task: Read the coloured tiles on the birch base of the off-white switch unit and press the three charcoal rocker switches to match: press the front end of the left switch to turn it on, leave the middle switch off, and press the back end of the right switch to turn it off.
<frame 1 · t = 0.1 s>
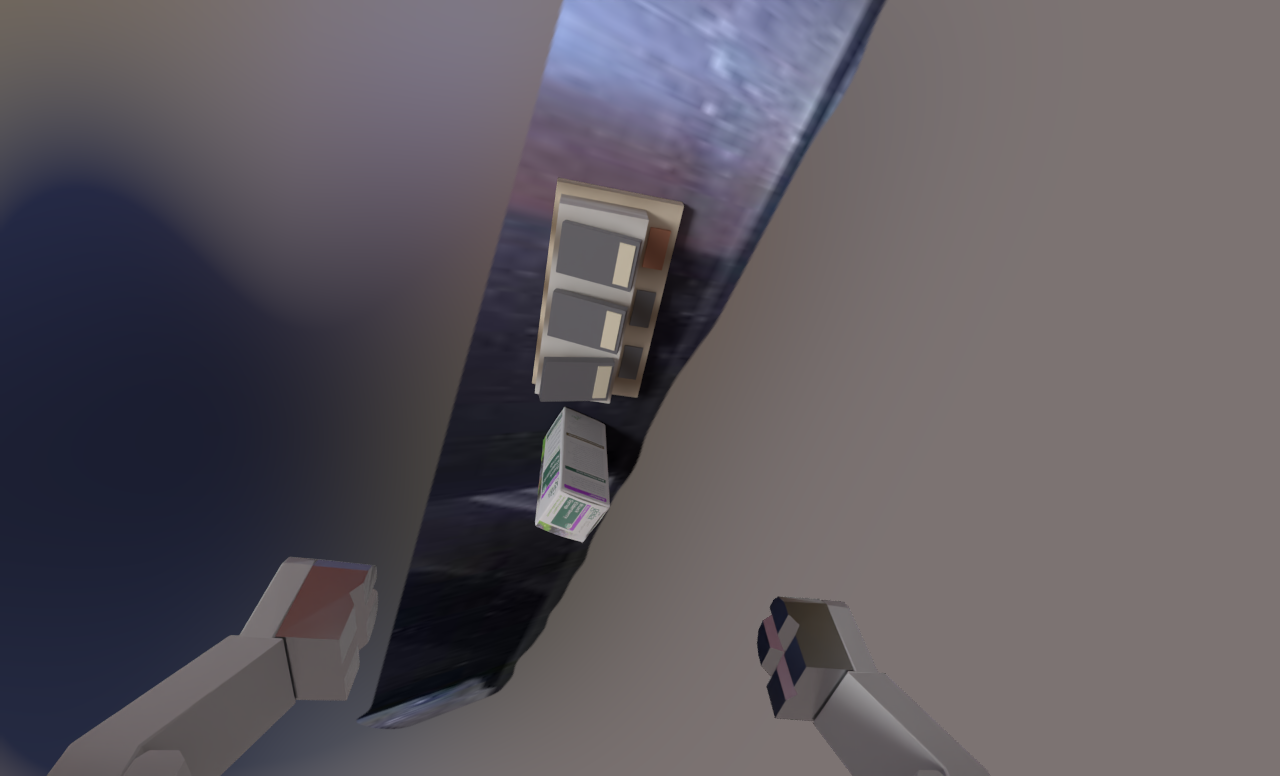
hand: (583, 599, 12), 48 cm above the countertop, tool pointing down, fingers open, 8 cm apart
switch middle: (586, 321, 53), point 7 cm above the countertop, hinge at 15.0°
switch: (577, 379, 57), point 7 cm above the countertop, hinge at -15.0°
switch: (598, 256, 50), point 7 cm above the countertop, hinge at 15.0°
syrup box: (575, 430, 69), on the countertop
switch unit: (601, 296, 59), on the countertop
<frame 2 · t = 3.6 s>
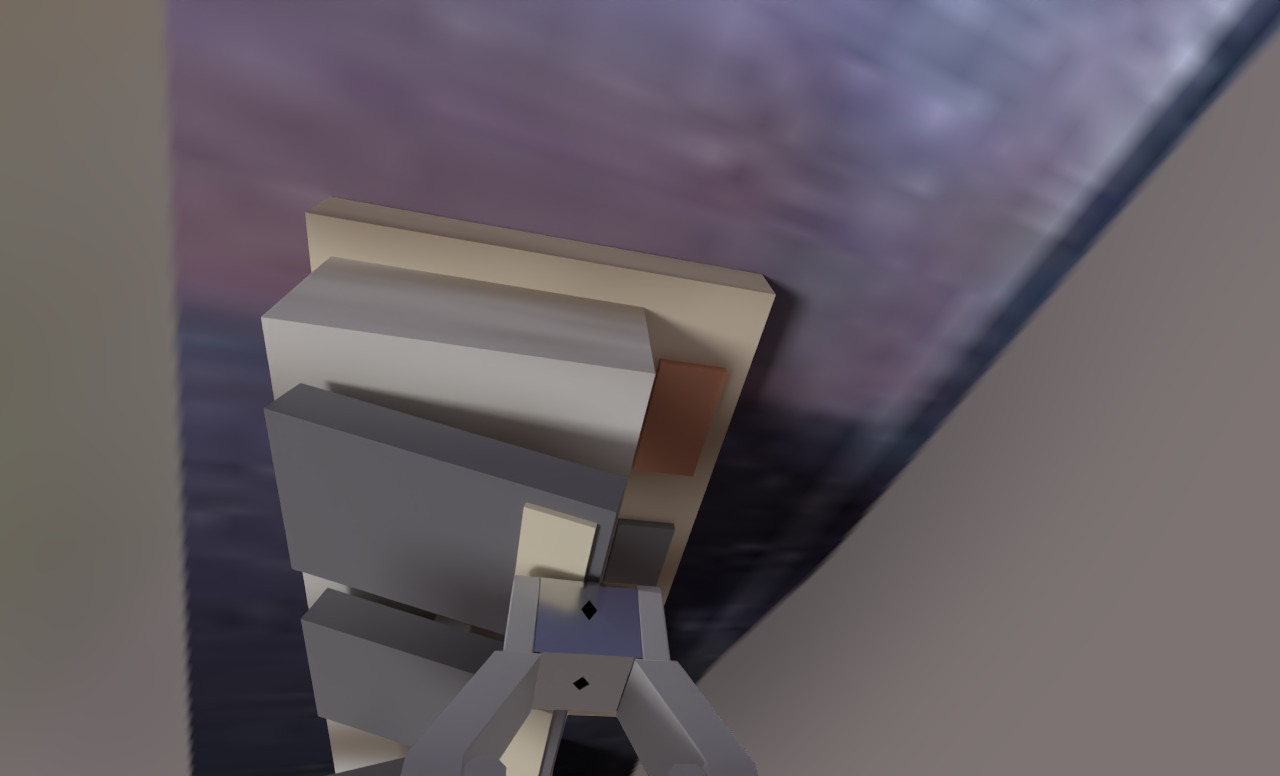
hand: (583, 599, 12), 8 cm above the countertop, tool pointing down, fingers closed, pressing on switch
switch middle: (439, 695, 15), point 7 cm above the countertop, hinge at 15.0°
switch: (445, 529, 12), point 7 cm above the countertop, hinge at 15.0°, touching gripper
switch unit: (522, 518, 21), on the countertop
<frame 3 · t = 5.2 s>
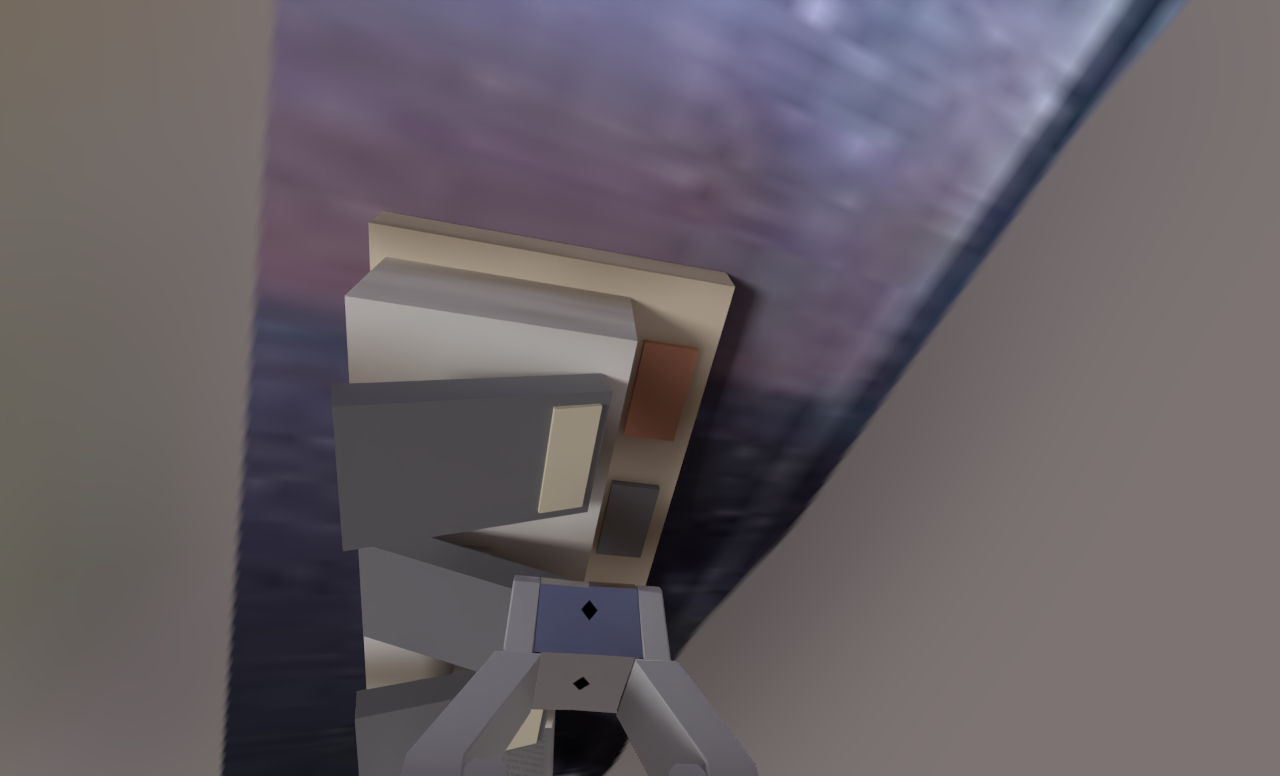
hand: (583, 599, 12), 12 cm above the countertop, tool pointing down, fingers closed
switch middle: (465, 611, 19), point 7 cm above the countertop, hinge at 15.0°
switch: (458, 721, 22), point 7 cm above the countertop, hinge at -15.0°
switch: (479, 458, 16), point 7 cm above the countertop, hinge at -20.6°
syrup box: (495, 712, 34), on the countertop
switch unit: (530, 484, 25), on the countertop
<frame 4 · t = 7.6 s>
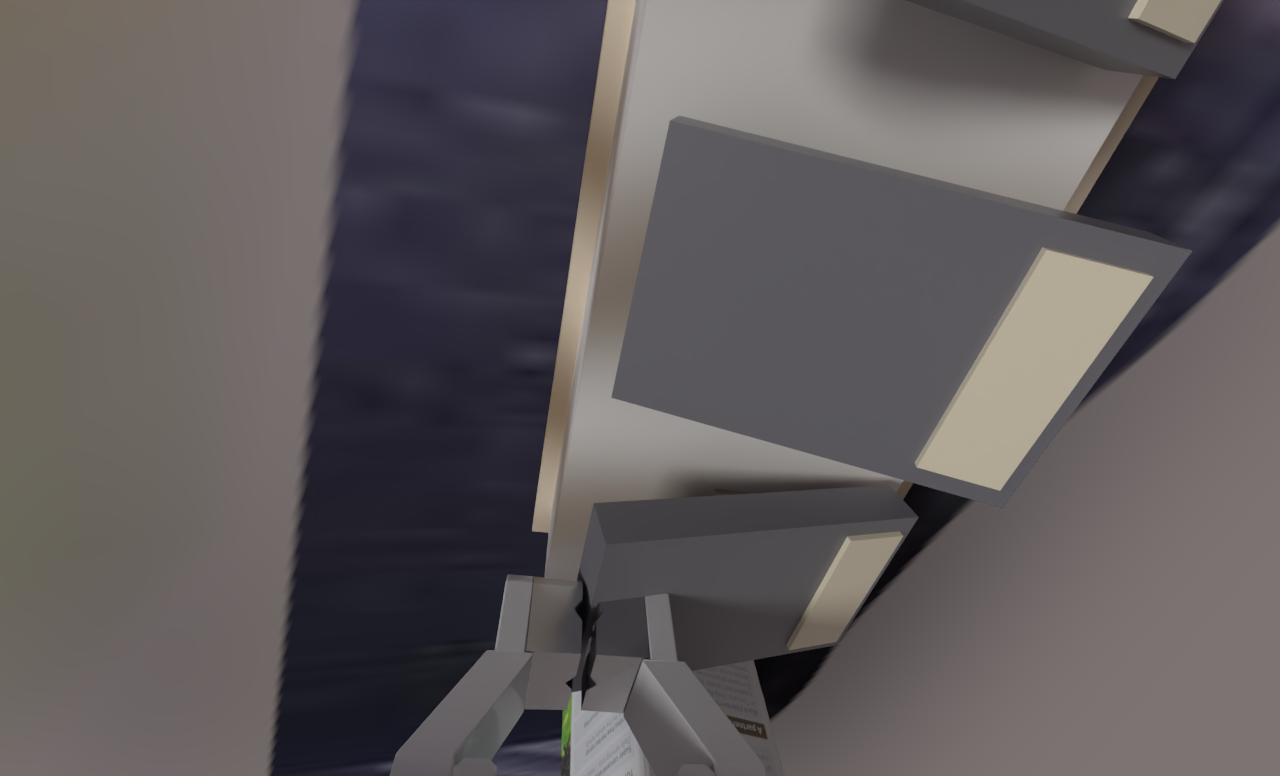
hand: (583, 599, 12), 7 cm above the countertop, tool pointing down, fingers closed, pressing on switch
switch middle: (851, 325, 9), point 7 cm above the countertop, hinge at 15.0°
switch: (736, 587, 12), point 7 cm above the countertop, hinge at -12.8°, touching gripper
syrup box: (653, 626, 24), on the countertop
switch unit: (805, 220, 15), on the countertop
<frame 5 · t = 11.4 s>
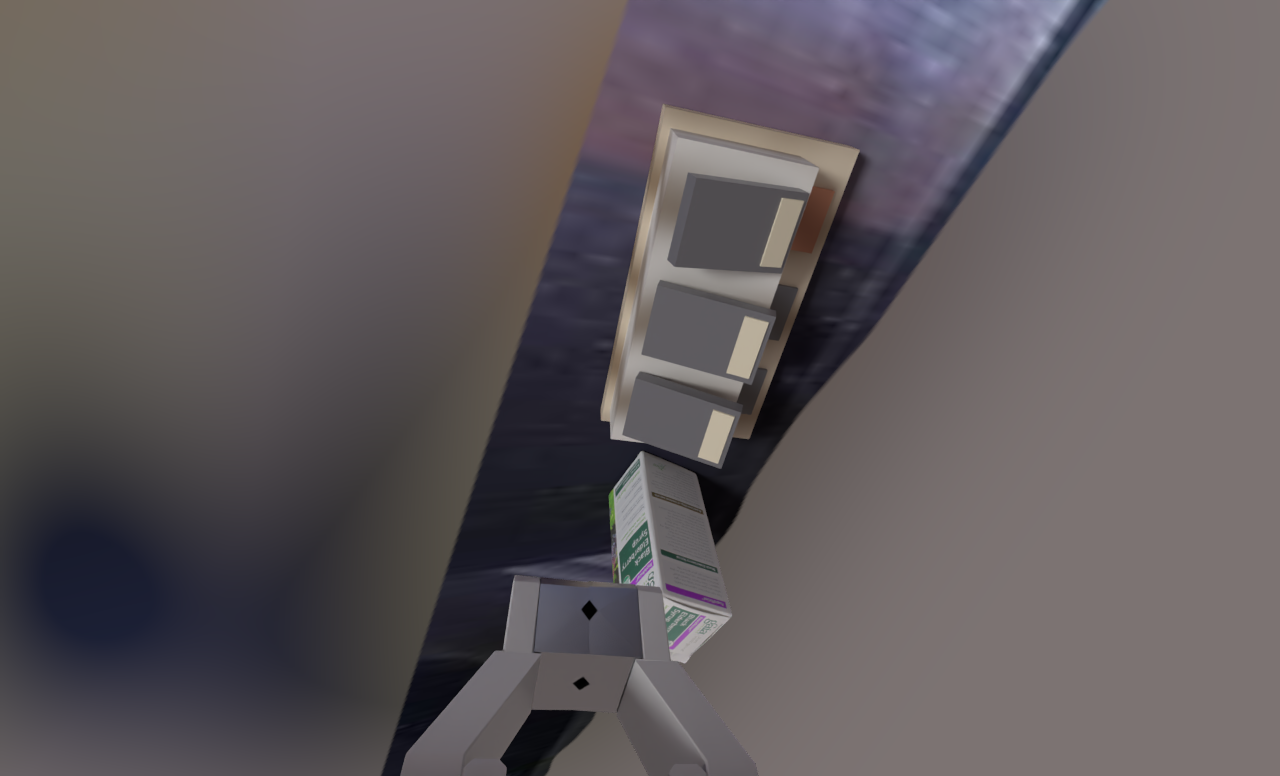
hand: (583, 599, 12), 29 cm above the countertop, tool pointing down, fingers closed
switch middle: (706, 333, 34), point 7 cm above the countertop, hinge at 15.0°
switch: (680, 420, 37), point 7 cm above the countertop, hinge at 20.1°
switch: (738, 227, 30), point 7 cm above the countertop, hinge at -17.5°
syrup box: (653, 481, 49), on the countertop
switch unit: (710, 293, 40), on the countertop
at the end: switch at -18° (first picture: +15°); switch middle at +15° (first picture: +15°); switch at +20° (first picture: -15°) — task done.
